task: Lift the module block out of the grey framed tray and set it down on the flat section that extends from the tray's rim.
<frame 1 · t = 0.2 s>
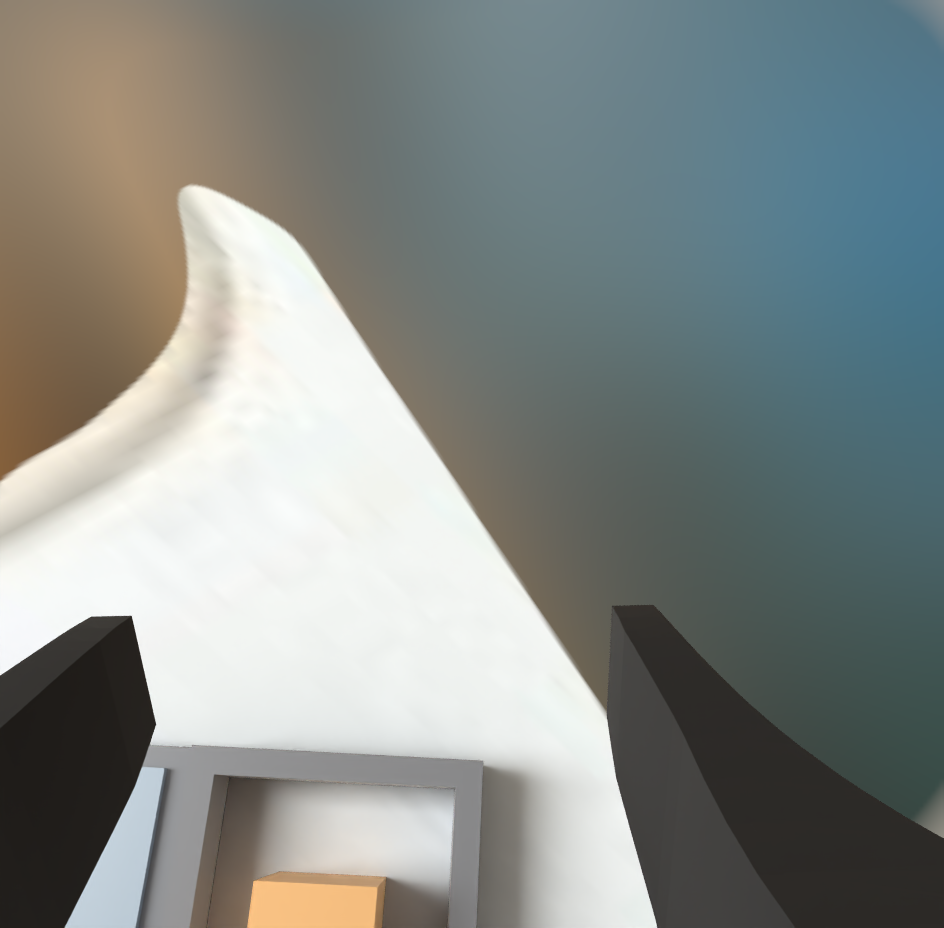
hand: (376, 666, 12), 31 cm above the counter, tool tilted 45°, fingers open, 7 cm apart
grey framed tray: (327, 922, 38), on the counter
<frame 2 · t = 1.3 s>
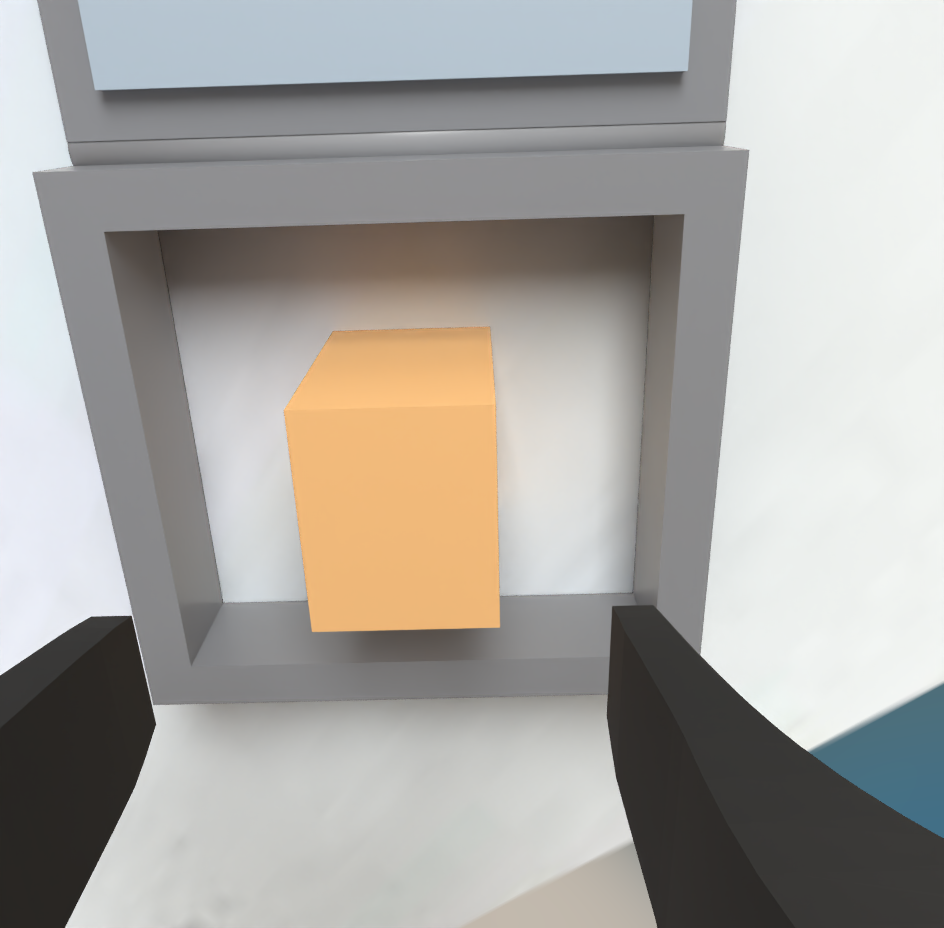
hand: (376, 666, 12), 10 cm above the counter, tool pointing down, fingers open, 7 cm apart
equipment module: (408, 465, 19), in the grey framed tray
grey framed tray: (416, 421, 22), on the counter
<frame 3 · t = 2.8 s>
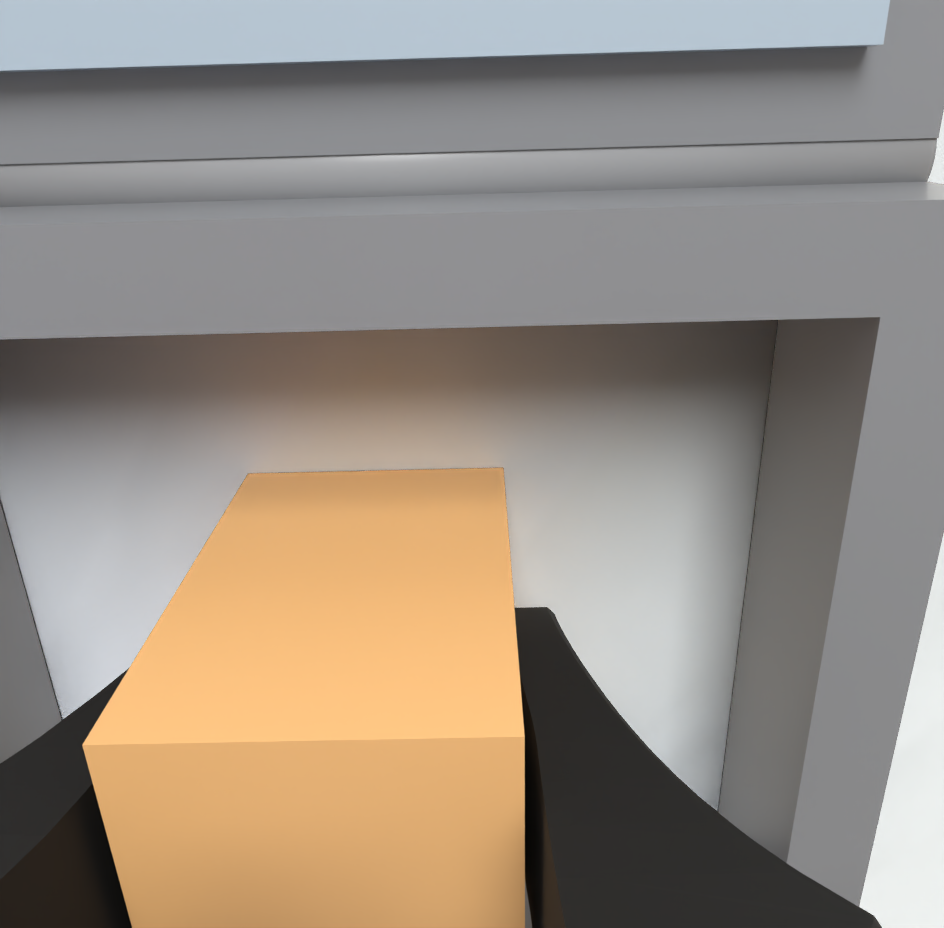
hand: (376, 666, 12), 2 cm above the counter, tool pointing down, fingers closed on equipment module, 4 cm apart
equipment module: (364, 729, 11), in the grey framed tray, touching gripper
grey framed tray: (386, 606, 14), on the counter
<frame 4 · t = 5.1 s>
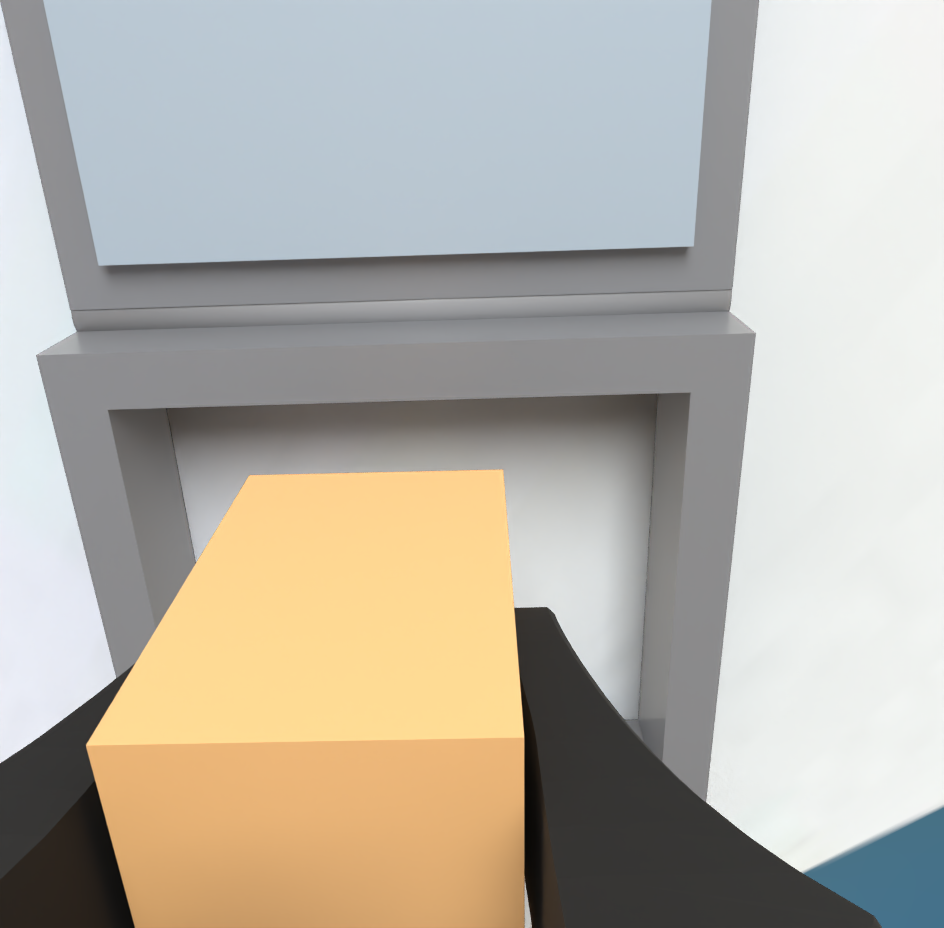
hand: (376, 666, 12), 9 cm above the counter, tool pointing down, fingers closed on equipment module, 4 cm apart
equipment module: (365, 729, 11), point 10 cm above the counter, touching gripper
grey framed tray: (421, 560, 22), on the counter
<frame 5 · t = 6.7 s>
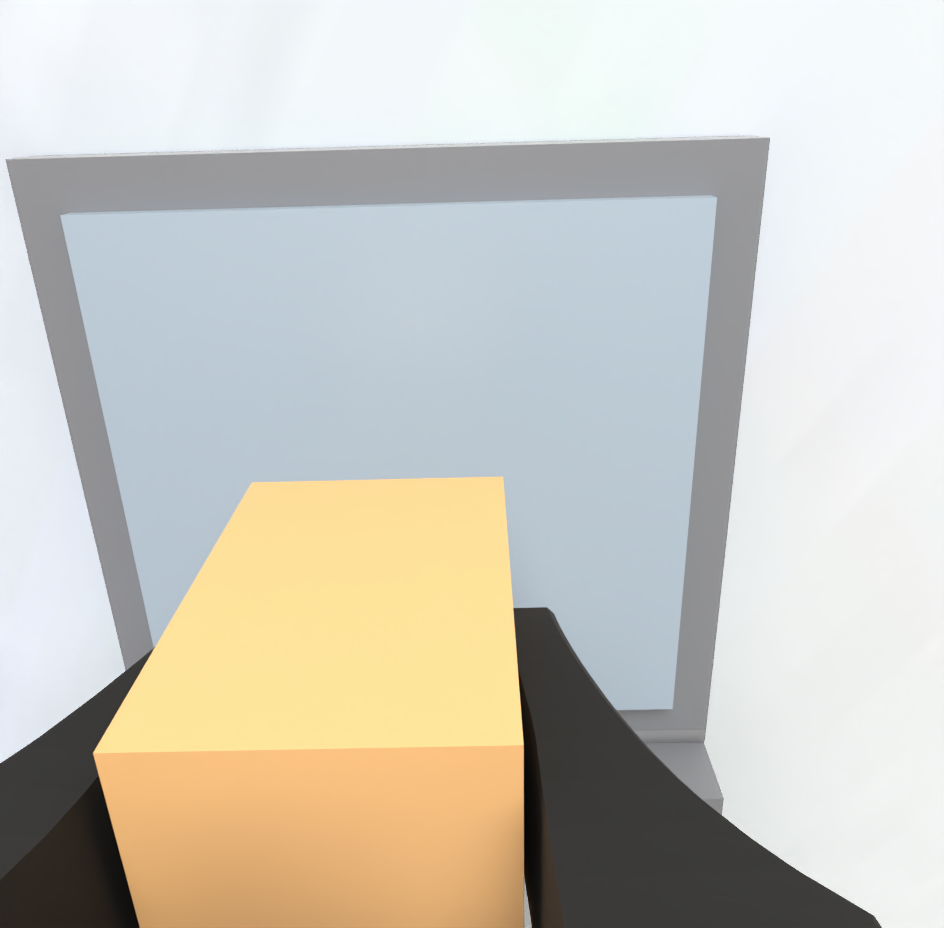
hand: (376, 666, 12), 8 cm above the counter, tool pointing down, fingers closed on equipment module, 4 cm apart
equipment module: (366, 735, 11), point 9 cm above the counter, touching gripper
grey framed tray: (437, 894, 25), on the counter
when the fingers open (5 cm above the counter, at t = 7.7 s): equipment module drops 1 cm, resting on grey framed tray.
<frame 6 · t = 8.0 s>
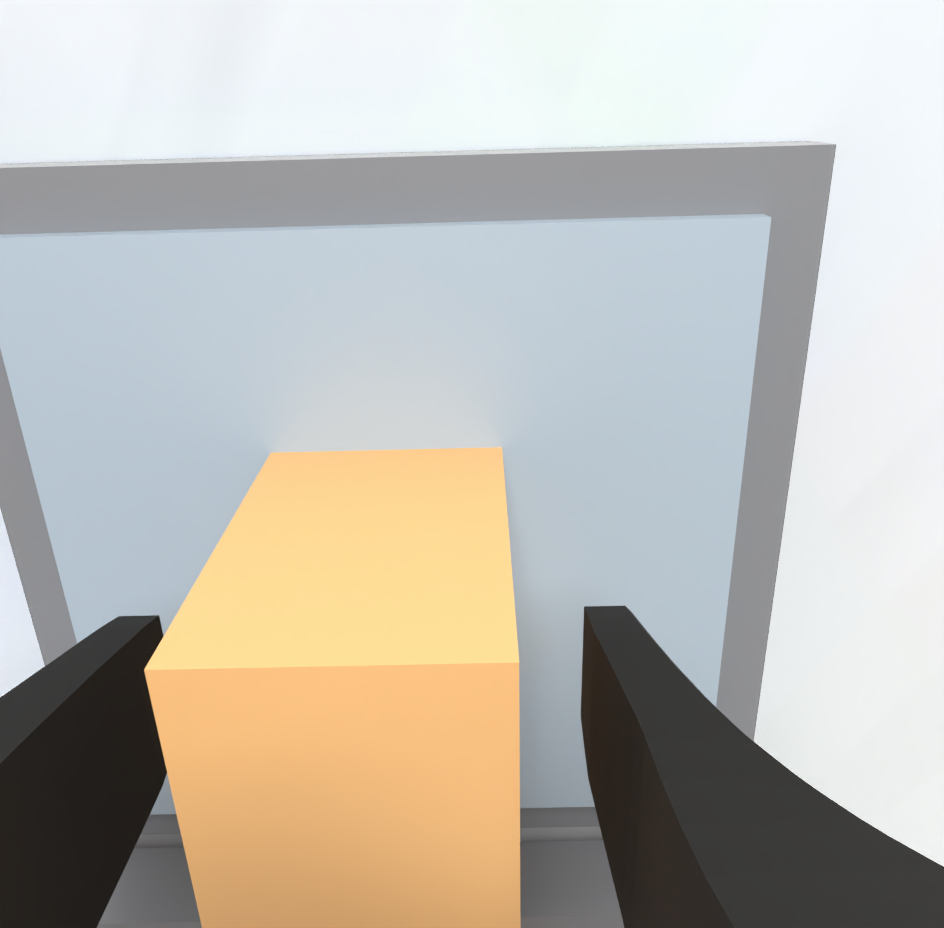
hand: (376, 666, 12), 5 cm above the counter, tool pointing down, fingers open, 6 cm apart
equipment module: (378, 678, 13), point 5 cm above the counter, touching grey framed tray
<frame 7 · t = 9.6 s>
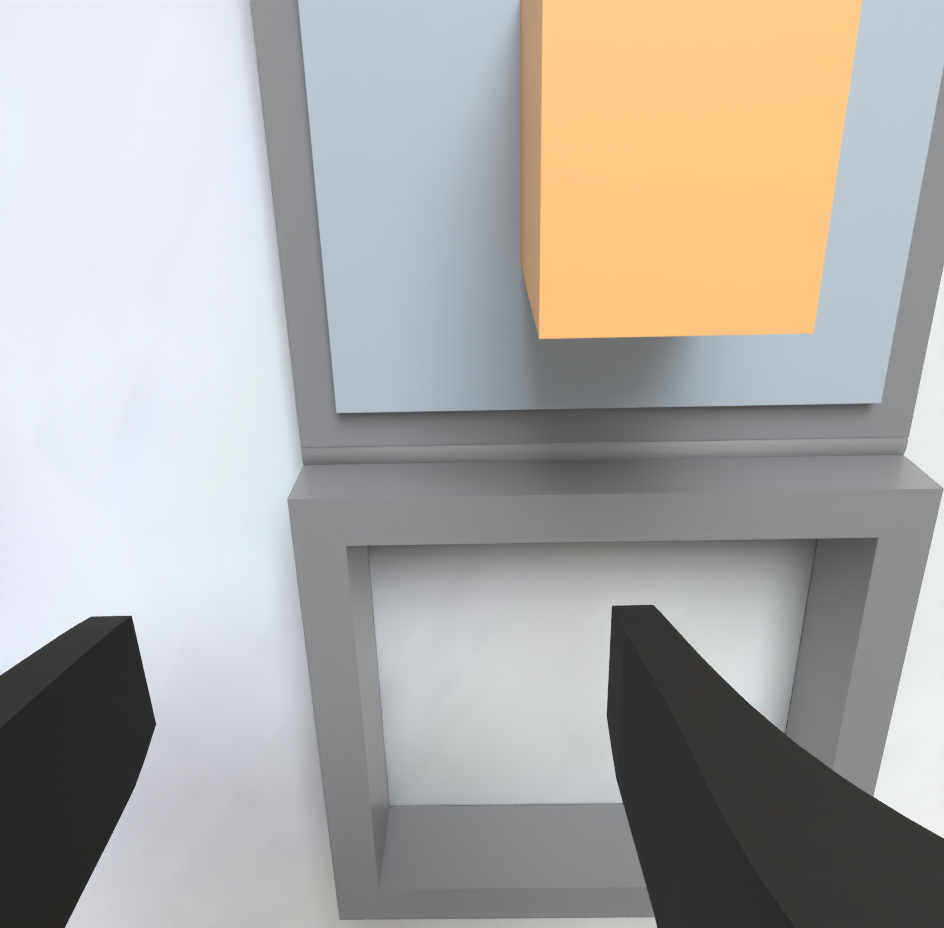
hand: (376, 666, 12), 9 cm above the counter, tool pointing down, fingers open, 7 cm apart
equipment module: (648, 143, 14), point 5 cm above the counter, touching grey framed tray
grey framed tray: (586, 659, 24), on the counter
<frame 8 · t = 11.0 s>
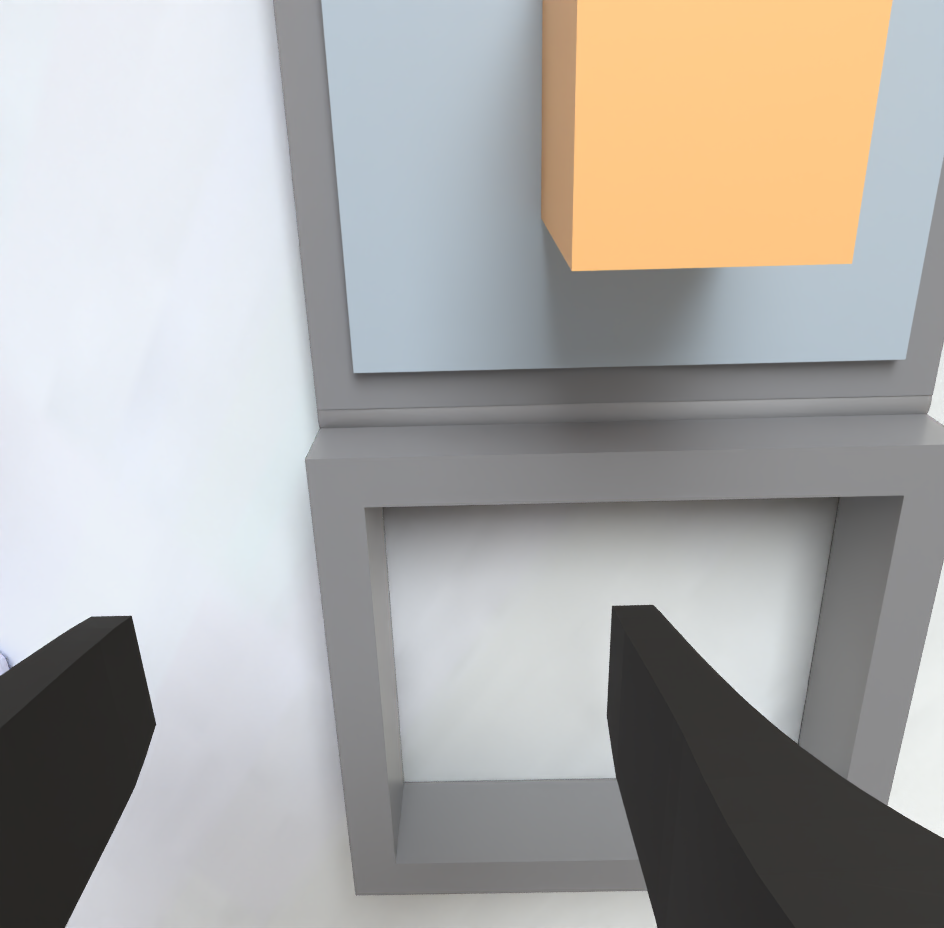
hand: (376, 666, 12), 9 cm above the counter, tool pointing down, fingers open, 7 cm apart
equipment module: (677, 80, 14), point 5 cm above the counter, touching grey framed tray
grey framed tray: (604, 629, 23), on the counter
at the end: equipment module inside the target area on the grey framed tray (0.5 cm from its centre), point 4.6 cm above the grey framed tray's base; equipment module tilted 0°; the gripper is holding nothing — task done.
